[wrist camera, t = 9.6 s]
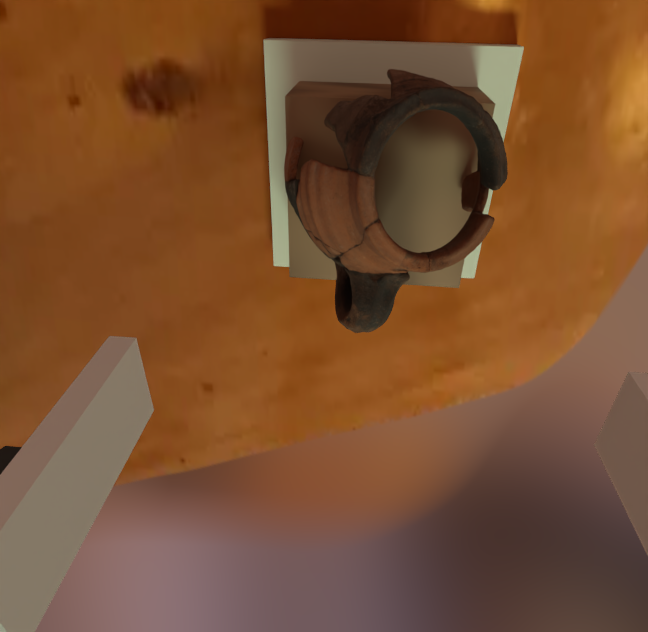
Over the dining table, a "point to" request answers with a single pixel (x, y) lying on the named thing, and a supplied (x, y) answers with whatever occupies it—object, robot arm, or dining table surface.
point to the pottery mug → (359, 195)
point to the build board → (371, 67)
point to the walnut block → (389, 175)
